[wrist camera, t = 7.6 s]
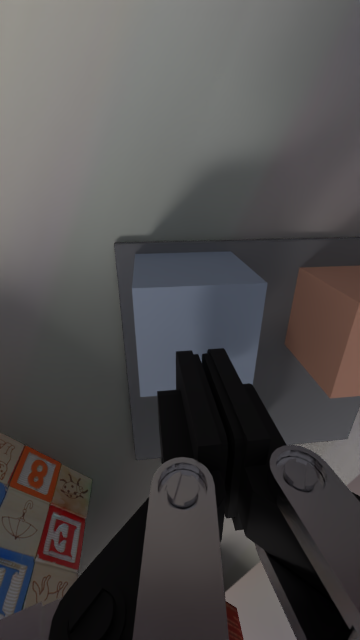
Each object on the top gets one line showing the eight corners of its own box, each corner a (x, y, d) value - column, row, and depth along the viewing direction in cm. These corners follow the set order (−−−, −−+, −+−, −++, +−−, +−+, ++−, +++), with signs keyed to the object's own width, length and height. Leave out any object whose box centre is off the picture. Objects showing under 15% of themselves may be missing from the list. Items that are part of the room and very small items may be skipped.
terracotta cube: (357, 339, 19) (424, 390, 14) (284, 344, 18) (329, 398, 14) (381, 264, 16) (469, 297, 12) (299, 267, 16) (359, 303, 12)
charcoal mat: (344, 435, 24) (347, 439, 23) (136, 455, 22) (136, 460, 21) (417, 236, 16) (423, 237, 16) (115, 242, 15) (114, 244, 14)
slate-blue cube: (224, 334, 17) (251, 388, 13) (141, 338, 17) (140, 397, 12) (230, 251, 15) (267, 282, 11) (135, 254, 15) (131, 288, 10)
